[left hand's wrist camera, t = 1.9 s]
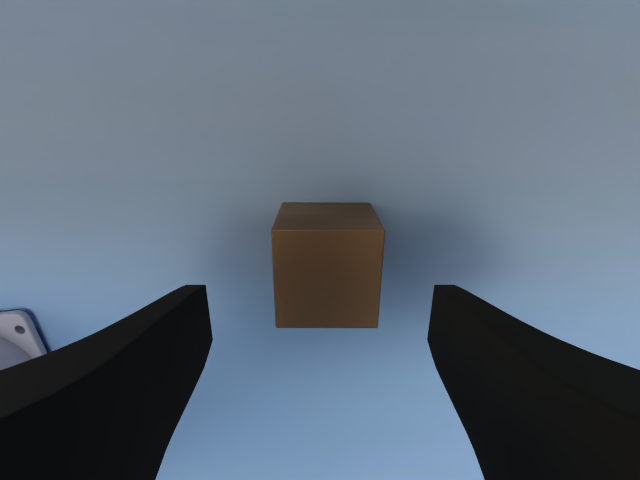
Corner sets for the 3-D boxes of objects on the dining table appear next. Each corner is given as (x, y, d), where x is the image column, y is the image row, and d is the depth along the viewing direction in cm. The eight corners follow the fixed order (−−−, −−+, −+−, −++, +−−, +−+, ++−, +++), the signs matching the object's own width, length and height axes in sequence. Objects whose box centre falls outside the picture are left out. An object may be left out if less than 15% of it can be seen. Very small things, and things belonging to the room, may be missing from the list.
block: (370, 202, 17) (385, 230, 13) (365, 283, 18) (377, 328, 14) (281, 202, 17) (271, 229, 13) (284, 282, 18) (275, 328, 14)
